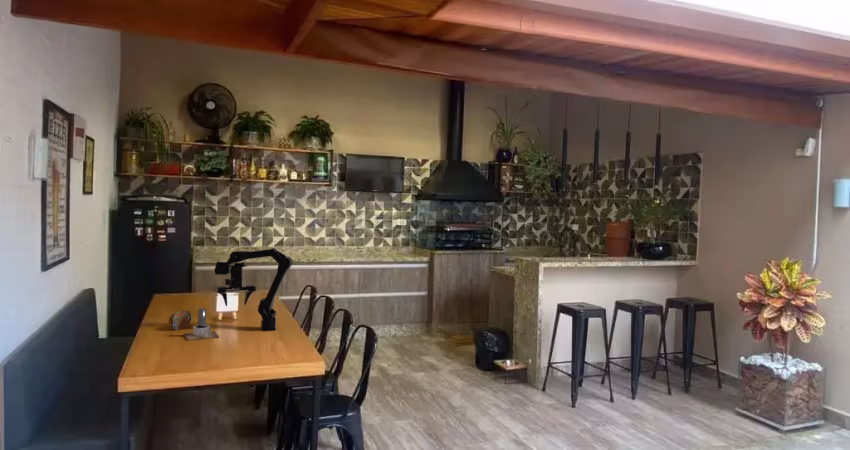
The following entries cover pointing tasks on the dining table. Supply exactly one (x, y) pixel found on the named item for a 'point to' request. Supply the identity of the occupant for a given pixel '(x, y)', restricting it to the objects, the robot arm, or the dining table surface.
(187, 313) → the tin
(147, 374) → the dining table surface
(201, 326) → the rail post
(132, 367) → the dining table surface
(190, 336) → the bracket plate
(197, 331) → the ring
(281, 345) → the dining table surface
